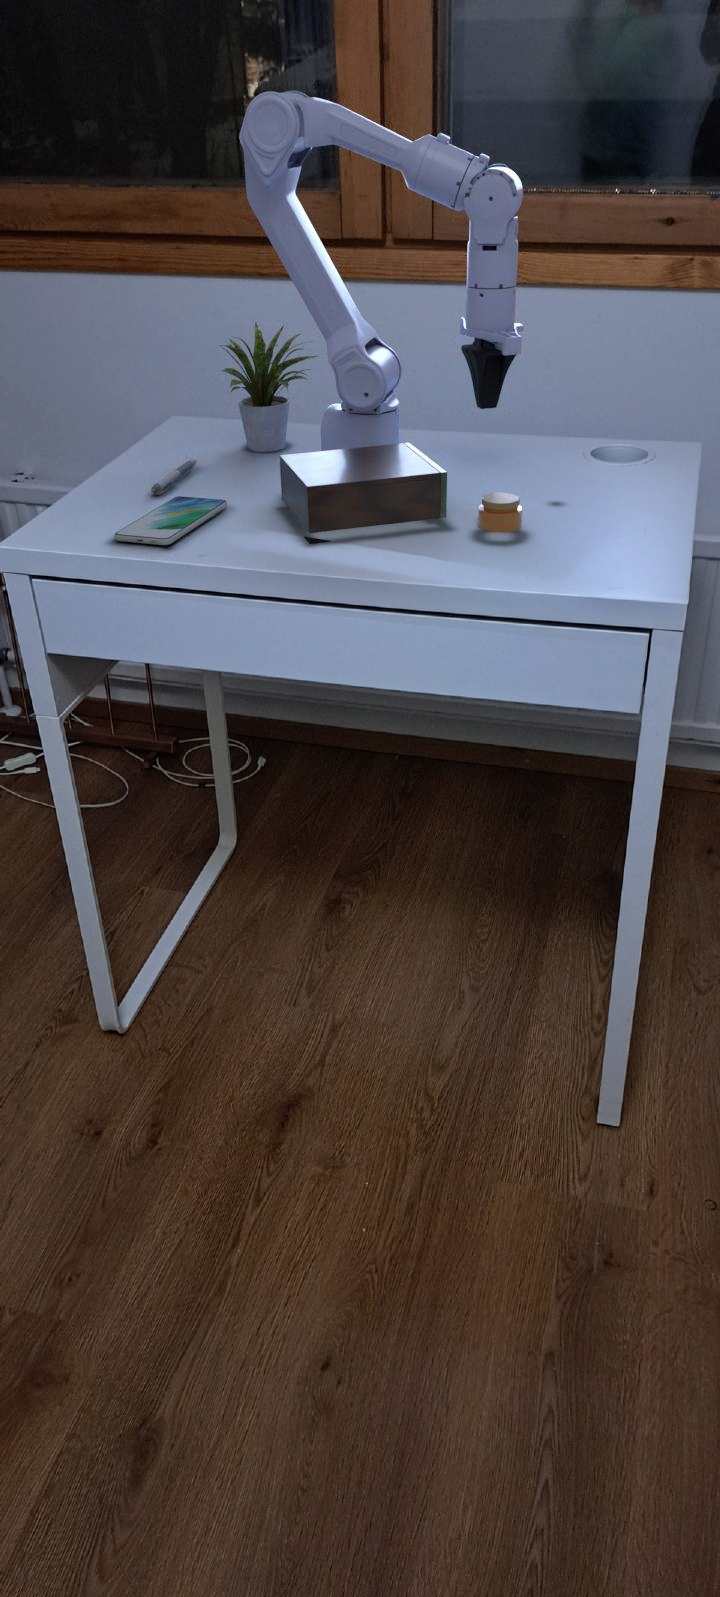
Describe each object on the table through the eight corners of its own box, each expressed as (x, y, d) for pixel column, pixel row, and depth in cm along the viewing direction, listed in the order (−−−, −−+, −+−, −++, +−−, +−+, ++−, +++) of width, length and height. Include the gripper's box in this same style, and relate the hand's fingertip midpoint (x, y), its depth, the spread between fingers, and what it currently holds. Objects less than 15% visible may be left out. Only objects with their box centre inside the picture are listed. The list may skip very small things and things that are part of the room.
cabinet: (403, 495, 142) (403, 443, 138) (439, 529, 131) (440, 472, 127) (282, 509, 138) (279, 455, 135) (309, 544, 127) (307, 486, 124)
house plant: (273, 469, 153) (266, 338, 144) (192, 454, 159) (181, 328, 151) (334, 444, 163) (330, 320, 154) (256, 431, 169) (248, 312, 161)
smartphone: (111, 534, 129) (176, 495, 140) (112, 542, 129) (177, 502, 141) (168, 540, 126) (229, 499, 138) (169, 547, 127) (230, 506, 139)
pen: (149, 498, 143) (147, 486, 142) (192, 466, 154) (191, 456, 153) (156, 498, 143) (155, 487, 142) (199, 467, 154) (198, 456, 153)
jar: (470, 539, 128) (471, 501, 125) (487, 526, 131) (489, 489, 129) (511, 545, 126) (513, 507, 123) (527, 532, 129) (529, 494, 127)
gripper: (549, 292, 128) (541, 418, 135) (500, 275, 140) (495, 391, 147) (489, 296, 126) (484, 423, 134) (445, 278, 138) (442, 396, 145)
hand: (486, 407), depth 140 cm, fingers closed
